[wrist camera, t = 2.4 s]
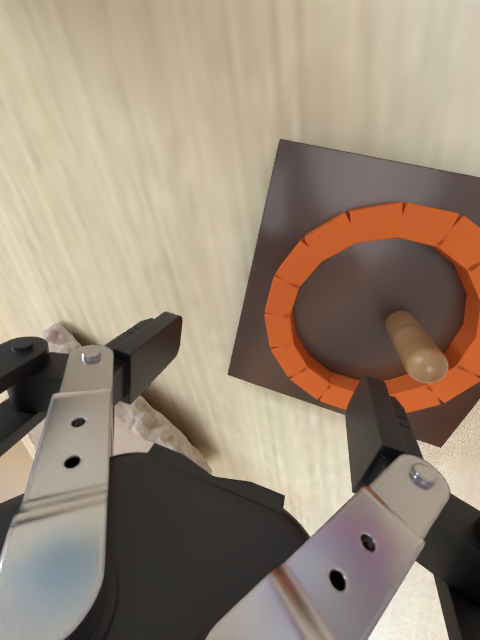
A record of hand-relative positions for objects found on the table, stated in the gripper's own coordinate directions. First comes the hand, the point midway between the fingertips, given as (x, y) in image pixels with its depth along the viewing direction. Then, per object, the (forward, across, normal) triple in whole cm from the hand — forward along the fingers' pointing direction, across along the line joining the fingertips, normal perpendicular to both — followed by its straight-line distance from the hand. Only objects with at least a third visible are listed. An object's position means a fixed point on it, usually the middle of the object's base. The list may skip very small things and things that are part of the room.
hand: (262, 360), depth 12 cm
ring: (+10, -6, 0) cm, 12 cm away
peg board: (+12, -6, 0) cm, 13 cm away
